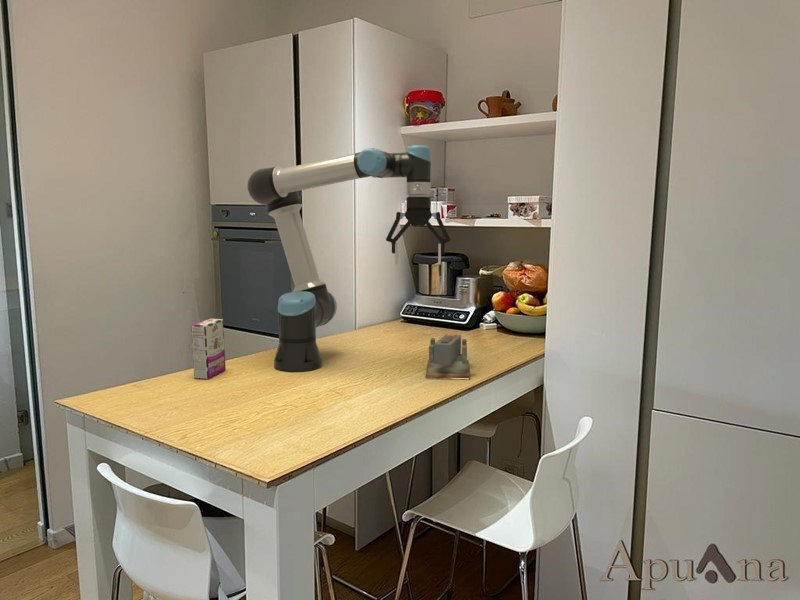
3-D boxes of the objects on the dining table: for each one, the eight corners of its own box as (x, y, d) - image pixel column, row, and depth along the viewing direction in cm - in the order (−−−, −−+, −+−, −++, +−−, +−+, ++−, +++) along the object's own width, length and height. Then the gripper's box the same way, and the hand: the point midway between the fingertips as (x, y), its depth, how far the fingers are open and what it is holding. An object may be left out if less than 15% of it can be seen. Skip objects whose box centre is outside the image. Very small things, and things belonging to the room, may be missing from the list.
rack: (425, 378, 184) (425, 349, 183) (428, 362, 204) (428, 335, 203) (469, 379, 183) (469, 350, 182) (468, 363, 203) (468, 336, 201)
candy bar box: (211, 369, 194) (209, 318, 192) (226, 370, 193) (224, 318, 191) (192, 379, 183) (190, 324, 181) (208, 380, 182) (205, 325, 180)
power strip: (433, 363, 186) (433, 342, 185) (445, 352, 201) (446, 332, 200) (450, 364, 184) (450, 343, 184) (460, 353, 200) (461, 333, 199)
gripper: (377, 196, 191) (377, 264, 194) (458, 196, 189) (457, 265, 192) (380, 196, 199) (380, 262, 202) (458, 196, 196) (457, 263, 199)
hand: (418, 264), depth 197 cm, fingers open, 13 cm apart
